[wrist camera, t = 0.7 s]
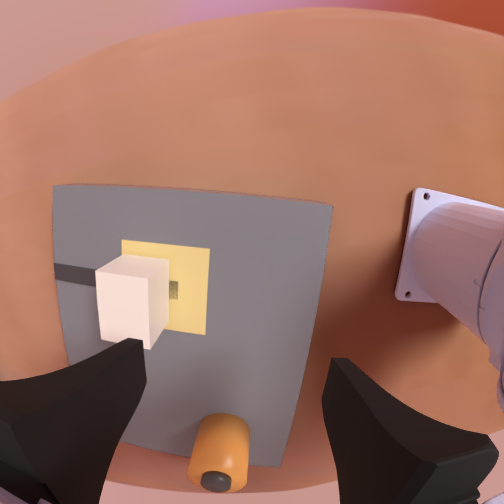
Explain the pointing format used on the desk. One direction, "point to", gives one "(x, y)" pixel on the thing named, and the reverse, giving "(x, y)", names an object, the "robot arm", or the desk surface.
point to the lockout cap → (220, 454)
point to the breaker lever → (133, 298)
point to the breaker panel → (201, 302)
